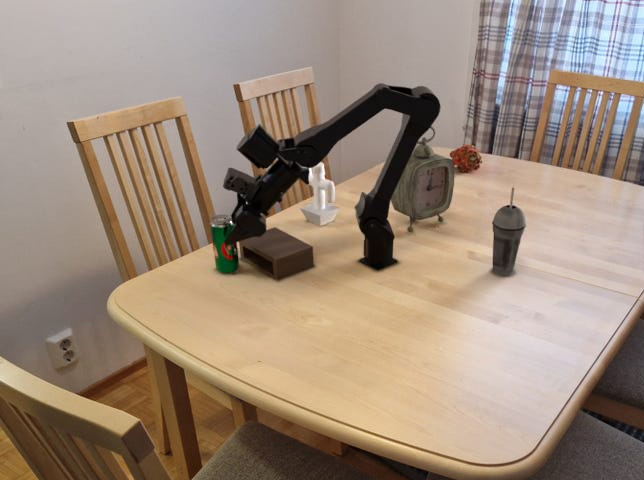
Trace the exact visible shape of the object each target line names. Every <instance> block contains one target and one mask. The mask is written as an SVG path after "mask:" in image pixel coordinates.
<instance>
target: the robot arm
mask: <svg viewBox="0 0 644 480" xmlns="http://www.w3.org/2000/svg"><path fill="white" fill-rule="evenodd" d="M441 108H442V107H441V102H440V100H439V98H438V96H437V95H435V93H434V92H433V91H432V89H430V88H428V87H427V86H424V85H418V86H415V87H414V88H412V87H407V86H402V85H401V86H399V85H390V84H386V83H381V82H379V83H377V84H375V85H374V86H373V87H372V88H371V89H370V90H369V91H368V92H366V93H365V94H364V95H362V96H361V97H359V98H358V99H357V100H355V101H353V103H351V104H349V105H348V106H347V107H345V108H344V109H342V110H341V111H340V112H338V113H337V114H336V115H334V116H333V117H331V118H330V119H329V120H327V121H325V122H323V123H321V124H317V125H314V126H311V127H309V128H307V129H305V130H302V131H300V132H299V133H297V134H296V135H295V136H294V137H287V138H281V139H277V140H276V139H275V138H274V137H273V136H272V135H271V134H270V133H269V132H268V131H267V130H266V128H265V127H264V126H263V125H262V124H260V123H259V124H257V125H256V127H254V128H252V129H251V130H249V132H246V133H245V134H244V135H243V137H242V138H241V140H240V141H239V142H238V144H237V146H236V148H235V150H236V151H237V152H239V153H240V154H241V155H242V156H243V157H244V158H245V159H247V160H248V161H249V162H250V163H251V164H252V165H253V166H255V168H257V169H258V170H259V169H260V170H264V169H267V170H266V171H265V172H264V173H263V174H262V173H260V174H259V173H258V174H257V175H256V176H255V177H254V176H252V175H250V174H248V173H246V172H243V171H241V170H238V169H236V168H233V167H228V168H227V171H226V174H225V176H224V180H223V183H222V187H223V189H224V190H226V191H232V192H234V193H236V199H237V200H236V201H237V203H236V204H235V206H234V209H233V210H232V212H231V214H230V215H229V216H231V217H232V220H233V221H234V224H235V225H234V227H233V228H232V230H231V231H230V233H229V234H228V236H227V237H226V239H225V241H224V243H225V244H226V245H231V244H233V243H236V242H237V243H239V241H242V240H245V239H248V238H252V237H261V236H262V235H263V234H264V233H265V232H266V230H267V219H266V218H265V217H268V216H269V215H270V214H271V213H270V211H271V209H272V208H273V207H274V206H275V205H276V204H277V203H278V204H281V203H282V202H283V199H284V198H283V196H284V195H285V194H286V193H287V192H288V191H290V190H291V188H292V187H293V186H294V185H295V184H296V183H297V182H298V181H299V180H301V181H302V182H303V183H304V184H305V185H306V186H309V185H308V184H309V173H310V172H309V168H311V169H312V168H313V167H315V166H317V165H318V164H319V163H320V162H322V161H323V160H324V159H325V158H326V157H327V156H328V155H329V154H330V152H331V151H332V150H333V148H334V147H335V146H336V145H337V143H338V142H340V141H341V140H342V139H344V138H345V137H347V136H348V135H349V134H351V133H352V132H353V131H355V130H357V129H358V128H359V127H361V126H362V125H364V124H365V123H367V122H368V121H369V120H371V119H373V117H375V116H376V115H378V114H379V113H381V112H382V111H383V110H390V111H394V112H397V113H399V114H402V116H401V117H402V118H401V125H400V128H399V130H398V132H397V135H396V137H395V139H394V142H393V144H392V146H391V149H390V151H389V153H388V155H387V158H386V160H385V161H384V164H383V166H382V168H381V170H380V173H379V175H378V176H377V177H378V178H377V179H376V182H375V184H374V186H373V188H372V189H371V190H370V191H369V192H368V193H366V192H364V191H362V192H361V193H360V196H359V200H358V201H357V204H355V205H354V209H355V218H356V221H357V222H356V223H357V225H358V229H359V231H360V232H361V233H362V235H364V238H363V257H361V258H359V262H360V263H362V264H364V265H366V266H368V267H370V268H371V269H373V270H375V271H381V270H384V269H385V268H388V267H391V266H393V265H395V264H398V261H399V260H398V259H397V258H395V257H394V241H395V238H396V236H395V234H394V230H393V228H392V225H391V223H390V221H389V220H388V218H389V213H390V206H391V198H392V196H393V193H394V191H395V189H396V187H397V185H398V183H399V181H400V179H401V176H402V174H403V172H404V170H405V168H406V166H407V164H408V162H409V159H410V157H411V155H412V153H413V151H414V149H415V147H416V146H418V145H417V142H418V141H419V140H420V139H422V138H423V136H424V135H425V134H426V133H427V132H428V131H429V130H430V129H431V128H430V127H431V126H433V124H434V122H435V121H436V120H437V119H438V117H439V115H440V113H441V110H442V109H441ZM303 167H306V168H303ZM263 215H264V216H263Z"/></svg>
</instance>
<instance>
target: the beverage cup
mask: <svg viewBox="0 0 644 480" xmlns="http://www.w3.org/2000/svg"><path fill="white" fill-rule="evenodd" d="M514 194H515V187H511V193H510V202H509V204H506V205H503V206H502V207H500V208H499V209H498V210H497V211H496V212H495V214H494V216H493V219H492V222H491V223H492V233H493V234H492V237H493V238H492V264H491V265H492V273H493V274H495V275H497V276H500V277H508V276H511V275H513V271H514V268H515V266H516V265H515V264H516V261H517V256H518V252H519V249H520V244H521V240H522V236H523V235H524V232H525V228H526V225H527V224H526V216H525V213H524V211H523V210H522V209H521V208H520V207H518V206H517V205H515V204H513V203H514Z"/></svg>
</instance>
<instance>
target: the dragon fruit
mask: <svg viewBox="0 0 644 480" xmlns="http://www.w3.org/2000/svg"><path fill="white" fill-rule="evenodd" d="M449 157H450V159H451V160H453V163H454V167H455V166H456V169H457V171H458V172H462V171H465V173H472V172H473V171H477V170H479V169H480V168H481V164H482V163H483V159H482V154H481V153H480V151H478V149H477V148H476V147H475V146H474V145H470V144H462V146H460V147H459V148H456V149H455V150H451V152H449Z"/></svg>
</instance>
